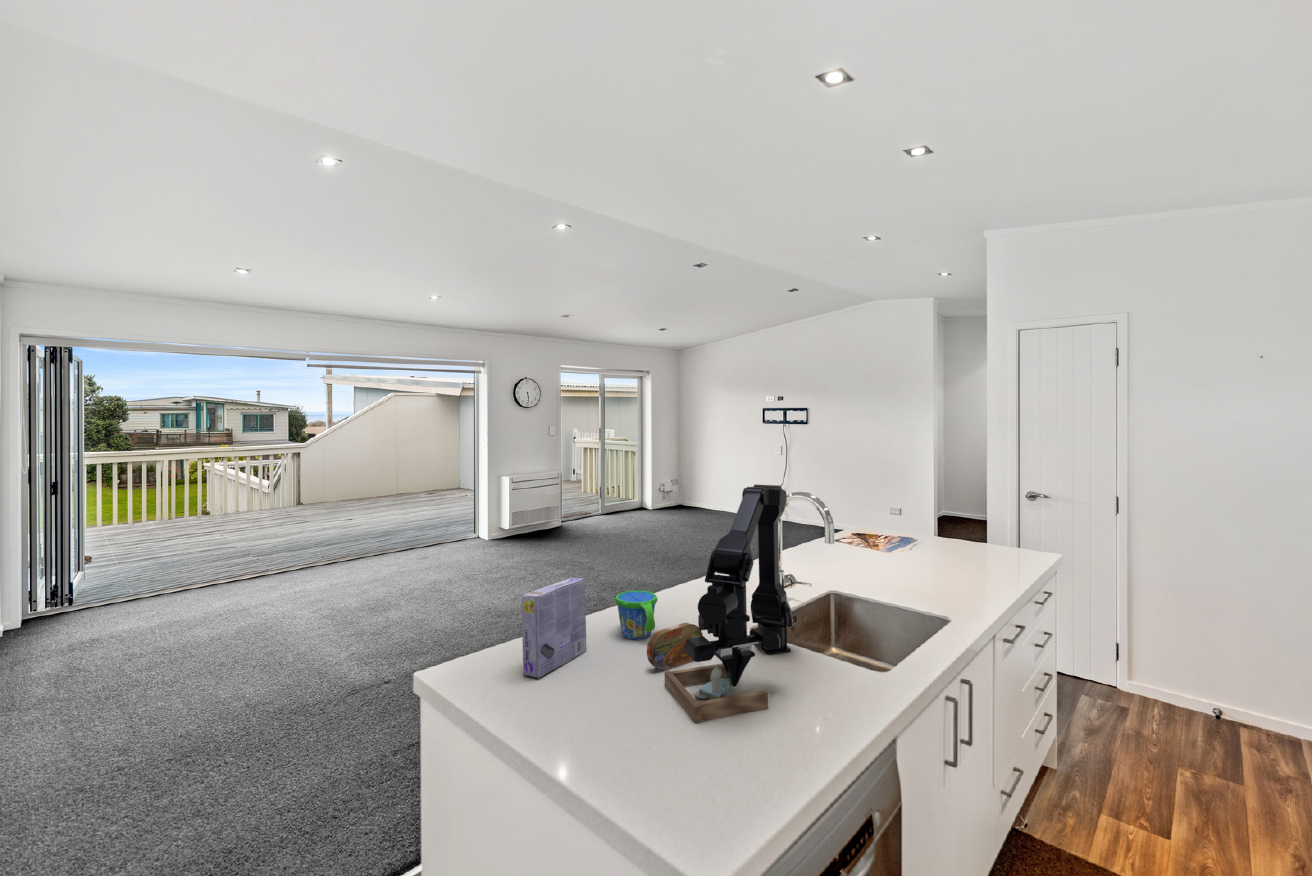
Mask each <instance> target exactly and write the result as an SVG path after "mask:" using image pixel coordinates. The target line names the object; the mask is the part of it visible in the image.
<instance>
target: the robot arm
mask: <svg viewBox="0 0 1312 876" xmlns="http://www.w3.org/2000/svg"><path fill="white" fill-rule="evenodd" d="M741 493H742V497H741V500H740V505H739V507H738V510H737V511H736V514H735V517H734V519H733V522H732V523H731V524H732V525H731V526H730V529H729V532H728V533H727V534H726V535H724V536H723V537H721V538H719V540H718V542H716V545H715V548H714V549H713V550H712V551H711V554H710V558H709V561H708V565H707V570H706V574H705V576H704V577H705V578H704V583H707V584H708V583H709V584H710V585H708V586H707V589H706V590H707V592H706V593H704V594H703V595H702V596H701V597H700V598H699V600H698V603H697V612H698V615H697V616H698V618H697V619H698V621H697V622H698V623H697V624H698V627H699V629H700V630H701V631H707V635H711V634H712V636H713V637H714V638H718V639H716V640H711V641H710V640H708V639H707V638H706V637H705V636H704V635H703V636H700V637H694V638H688V639H687V641H686V642H685V653H686V654H688V655H689V656H690V657H691V658H692V659H693V661H694V662H695V663H701V662H706V661H707V662H708V661H712V659H713V658H714V656H715V657H716V658H717V659H718V660H720V661H721V663H723V665H724V668H725V671H726V673H727V676H728V679H727V680H728V681H729V683H730V687H731V688H734V687H737V686H738V684H739V682H740V680H741V678H742V675H743V673H744V671H745V669H746V667H747V666H748V664H749V663H750V661H751V659H752V658H754V657H755V656H756V653H755V652H754V651H753V647H752V646H755V647H756V648H757V649H759V650H760V651H762V652H763V653H764V654H766V655H773V654H781V653H785V652H791V651H792V648H790V647H789V646H788V628H790V627H793V625H794V624H793V623H794V622H793V621H794V620H793V619H794V618H793V615H794V614H793V612H792V611H793V610H792V608H791V606H790V603H789V601H788V598H787V592H786V590H785V589H784V587H783V585H782V583H781V582H780V565H779V564H780V563H779V559H780V558H779V556H780V555H779V520H780V519H781V517H782V515H783V514H784V512H785V510H786V509H785V508H786V504H787V499H788V498H787V497H788V495H787V491H786V490H785V489H783V487H782V485H776V484H774V485H773V484H754V485H753V486H747V487H744V488H743V491H742V492H741ZM756 529H757V541H758V543H757V545H758V546H757V548H758V549H757V550H758V554H757V555H758V580H759V581H758V585H757V587H756V588H755V590H754V592H753V593H752V595H751V601H750V612H751V617H750V615H749V614H747V611H748V610H747V582H749V581H750V576H751V573H752V570H753V566H754V559H753V557H754V556H753V553H752V549H751V543H752V540H753V538H754V534H755V532H756ZM715 573H716V574H715ZM751 620H752V624H757V627H754V628H751V629H750V630H749V635H748V624H747V623H748V622H751Z"/></svg>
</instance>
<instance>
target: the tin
mask: <svg viewBox="0 0 1312 876" xmlns="http://www.w3.org/2000/svg"><path fill="white" fill-rule="evenodd" d="M702 631H703V630H700V629H699V625H697V624H693V623H688V622H683V623H680V624H675V625H673V626H670V627H666V628H663V629H660V630H657V631H656V632H654V633H653V634H652V635H651V637H650V638H649V640H648V642H647V645H646V657H647V660H648V662H649V664H650V665H652V666H653V667H654V668H656V669H658V670H661V671H670V670H671V669H674V668H677V667H679V666H682V665H685V664H688V663H691V662H693V661H694V660H693V659H692V658H691V657H690V656H689V655H688V654H686V653H685V642H686V641H687V639H688V638H694V637H700V636H704V635H703V632H702Z"/></svg>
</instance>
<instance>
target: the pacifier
mask: <svg viewBox="0 0 1312 876" xmlns="http://www.w3.org/2000/svg"><path fill="white" fill-rule="evenodd" d="M721 674H722V670H721V667H720V666H719V665H717V666H715V667H714V669H713V671H712V673H711V677H710V680H711V681H710V682H707V683H704V685H702V686H699V687H698V688H697V689H696V690H695V692H694V695H695V697H696V698H698V699H702V700H705V699H708V700H712V699H718V698H721V696H722V695H724V694H726V693H727V692H728V691H729V689H730V687H731V684H730V682H729V679H725V678H720V677H721ZM702 693H703V694H702Z"/></svg>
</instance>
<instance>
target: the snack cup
mask: <svg viewBox="0 0 1312 876" xmlns="http://www.w3.org/2000/svg"><path fill="white" fill-rule="evenodd" d="M614 600H615V603H616V605H617V611H618V619H619V625H620V632H621V634H622V636H623V637H625V638H627V639H628V640H644V639H646V638H648V637H649V636H650V635H651V634H652V631H654V629H655V627H656V622H655V616H654V615H655V607H656V605H657V602H658V596H657V594H655V592H650V591H647V590H627V591H622V592H619V593H617V595H616V596H615V599H614Z"/></svg>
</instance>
